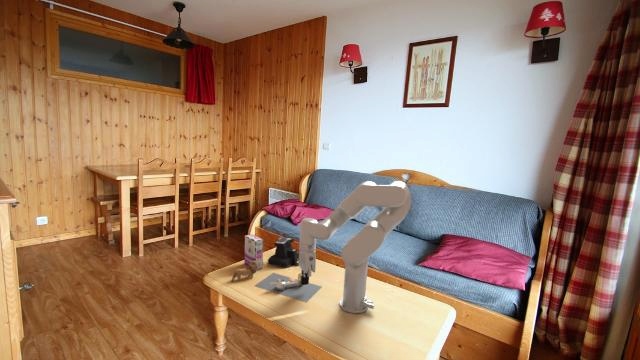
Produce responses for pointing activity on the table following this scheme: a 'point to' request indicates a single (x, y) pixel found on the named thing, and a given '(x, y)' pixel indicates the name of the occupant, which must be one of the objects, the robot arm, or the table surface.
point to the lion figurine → (246, 271)
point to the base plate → (290, 288)
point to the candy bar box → (253, 250)
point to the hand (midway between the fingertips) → (304, 283)
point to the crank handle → (285, 284)
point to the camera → (284, 254)
